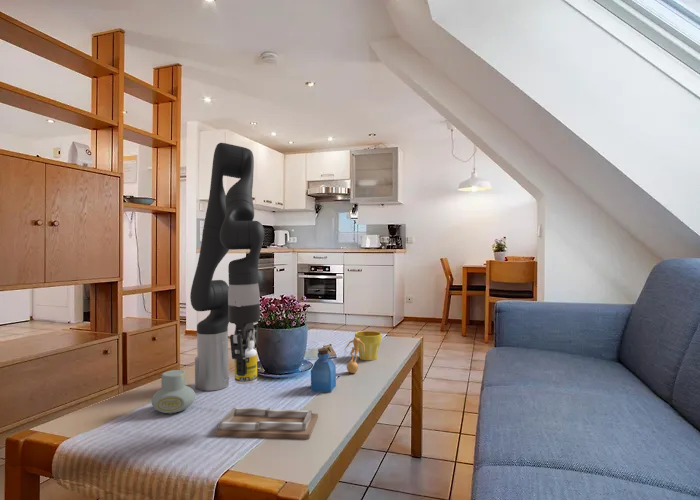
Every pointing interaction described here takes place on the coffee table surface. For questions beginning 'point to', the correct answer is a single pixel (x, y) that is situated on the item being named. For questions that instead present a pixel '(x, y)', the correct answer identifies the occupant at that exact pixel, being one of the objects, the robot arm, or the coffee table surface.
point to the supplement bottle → (248, 366)
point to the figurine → (352, 365)
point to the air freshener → (173, 393)
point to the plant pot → (369, 344)
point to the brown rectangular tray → (267, 423)
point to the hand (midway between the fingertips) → (245, 371)
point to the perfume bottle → (323, 373)
